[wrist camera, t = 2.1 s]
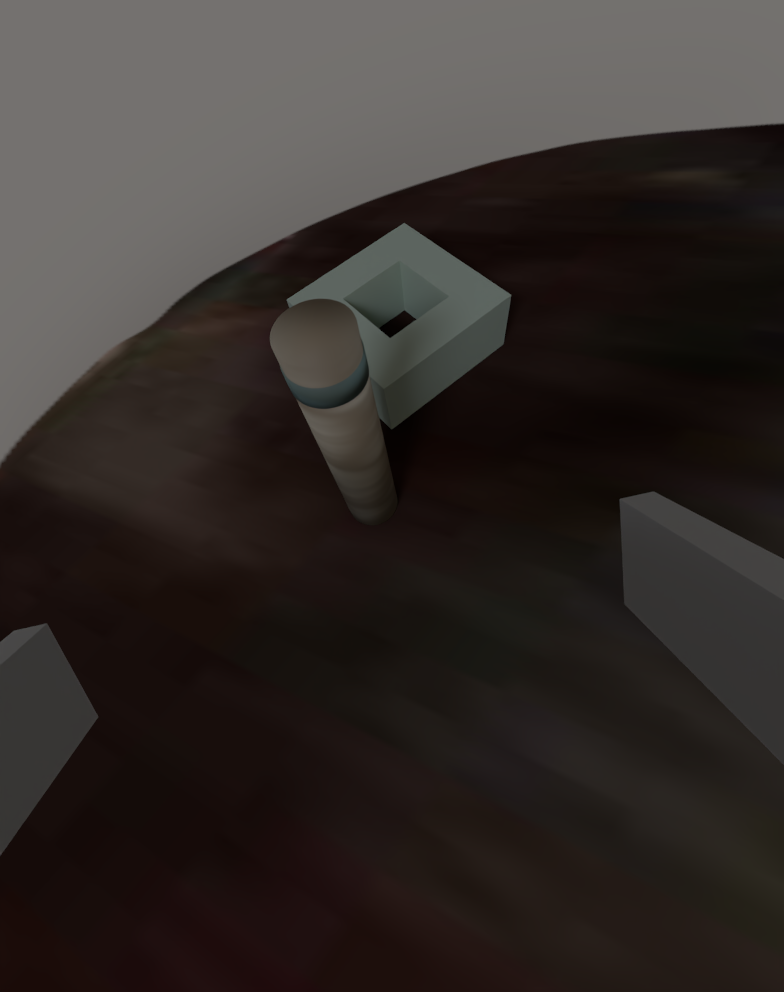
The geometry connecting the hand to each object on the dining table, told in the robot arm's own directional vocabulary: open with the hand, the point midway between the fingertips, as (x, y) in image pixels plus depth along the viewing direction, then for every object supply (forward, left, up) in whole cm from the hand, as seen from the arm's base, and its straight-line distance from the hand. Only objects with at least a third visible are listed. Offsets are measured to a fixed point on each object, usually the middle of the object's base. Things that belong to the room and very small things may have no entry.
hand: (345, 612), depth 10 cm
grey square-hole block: (-15, -18, -16) cm, 29 cm away
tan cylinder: (-5, -9, -16) cm, 19 cm away
